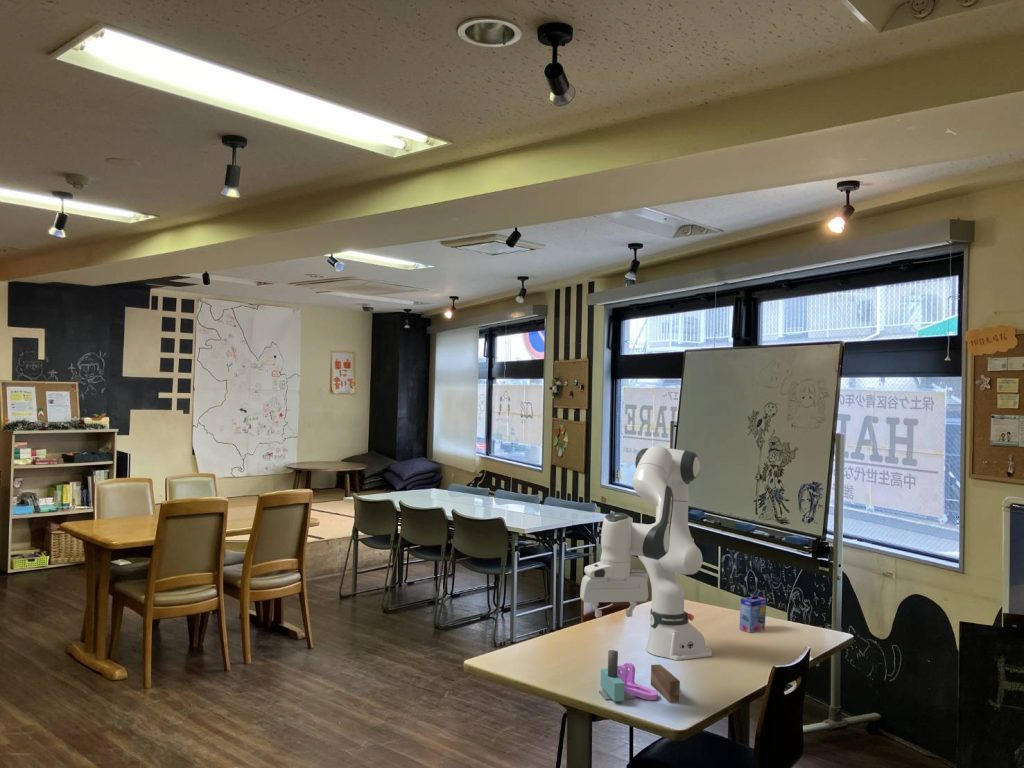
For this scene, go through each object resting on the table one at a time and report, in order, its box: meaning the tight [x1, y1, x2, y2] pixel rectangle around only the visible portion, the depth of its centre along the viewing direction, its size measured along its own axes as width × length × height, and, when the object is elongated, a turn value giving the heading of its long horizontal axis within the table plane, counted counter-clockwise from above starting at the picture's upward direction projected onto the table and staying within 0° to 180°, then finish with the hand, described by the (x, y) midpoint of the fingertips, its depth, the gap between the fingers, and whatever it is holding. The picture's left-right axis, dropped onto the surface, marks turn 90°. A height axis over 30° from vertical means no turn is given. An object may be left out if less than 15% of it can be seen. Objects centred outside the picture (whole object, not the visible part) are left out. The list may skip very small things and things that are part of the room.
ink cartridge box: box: [739, 592, 767, 634], centre depth 290 cm, size 10×6×14 cm, turn 126°
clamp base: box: [598, 664, 681, 704], centre depth 220 cm, size 21×14×6 cm, turn 102°
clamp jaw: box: [600, 649, 625, 702], centre depth 219 cm, size 3×12×12 cm, turn 12°
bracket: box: [617, 661, 659, 701], centre depth 221 cm, size 13×6×7 cm, turn 49°
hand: (613, 616), depth 219 cm, fingers open, 8 cm apart
